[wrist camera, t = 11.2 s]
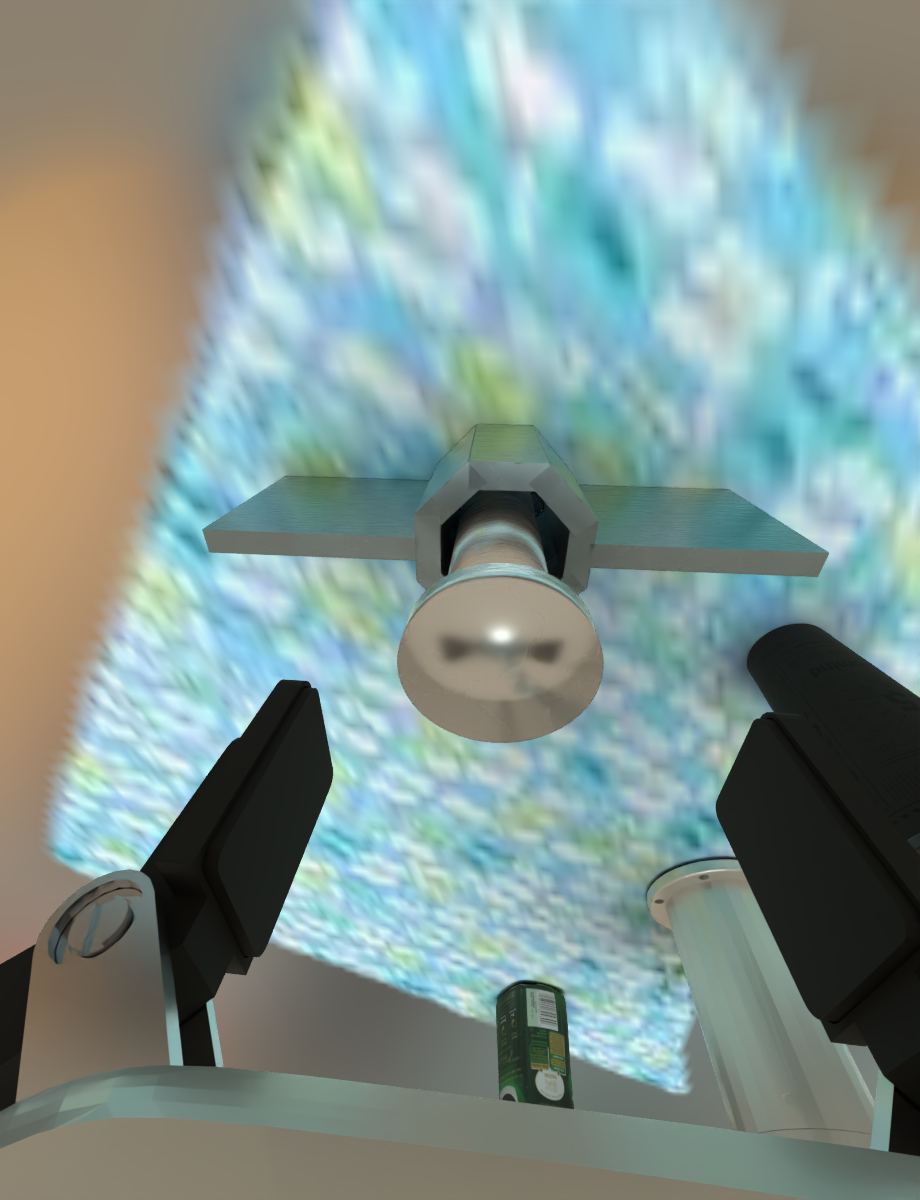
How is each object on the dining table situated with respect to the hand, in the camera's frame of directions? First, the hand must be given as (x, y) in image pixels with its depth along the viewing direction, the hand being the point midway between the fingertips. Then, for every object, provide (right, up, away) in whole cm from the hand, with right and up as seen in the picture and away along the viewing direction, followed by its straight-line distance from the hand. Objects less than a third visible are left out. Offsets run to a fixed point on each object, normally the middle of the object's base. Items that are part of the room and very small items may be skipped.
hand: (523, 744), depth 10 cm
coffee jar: (+8, -50, +49) cm, 70 cm away
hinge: (+1, +9, +14) cm, 17 cm away
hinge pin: (+1, +9, +14) cm, 17 cm away
